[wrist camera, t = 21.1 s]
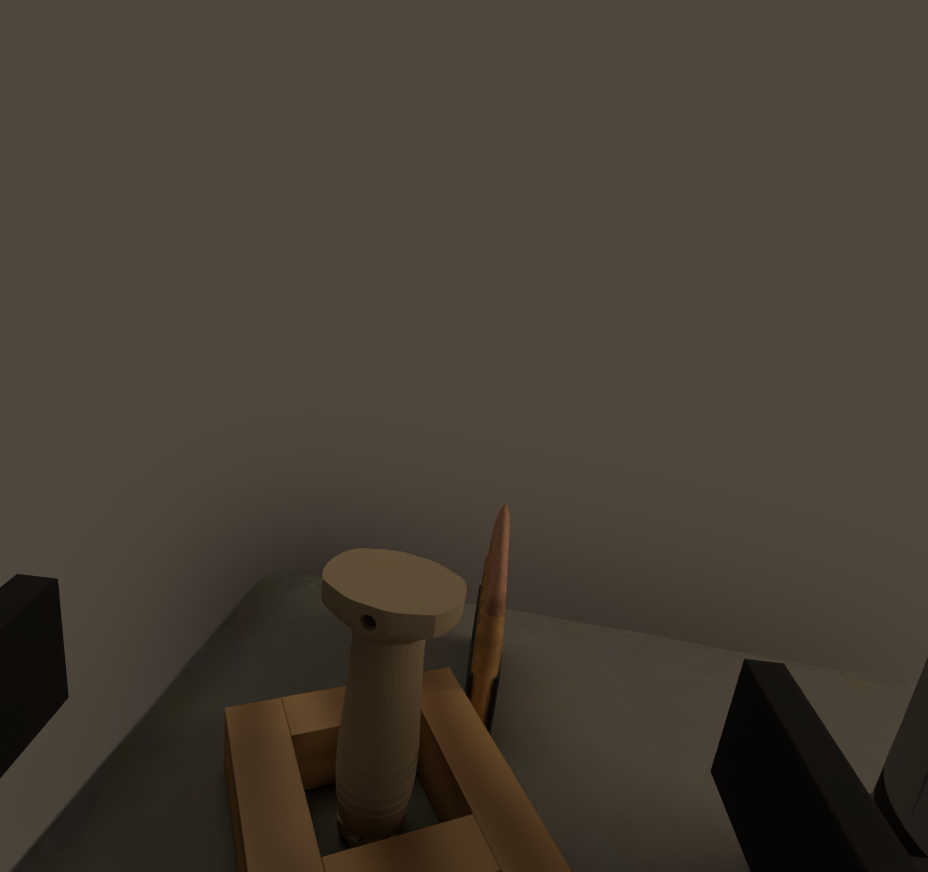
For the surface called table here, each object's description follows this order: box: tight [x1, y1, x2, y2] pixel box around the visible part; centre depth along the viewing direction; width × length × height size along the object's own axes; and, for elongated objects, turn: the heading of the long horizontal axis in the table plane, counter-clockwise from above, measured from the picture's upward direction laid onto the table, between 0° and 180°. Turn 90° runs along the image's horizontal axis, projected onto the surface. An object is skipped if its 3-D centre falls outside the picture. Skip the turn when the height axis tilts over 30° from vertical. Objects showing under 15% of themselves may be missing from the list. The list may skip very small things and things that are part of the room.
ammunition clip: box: [465, 504, 510, 734], centre depth 44 cm, size 11×2×12 cm, turn 174°
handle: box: [322, 548, 467, 849], centre depth 32 cm, size 5×6×15 cm
